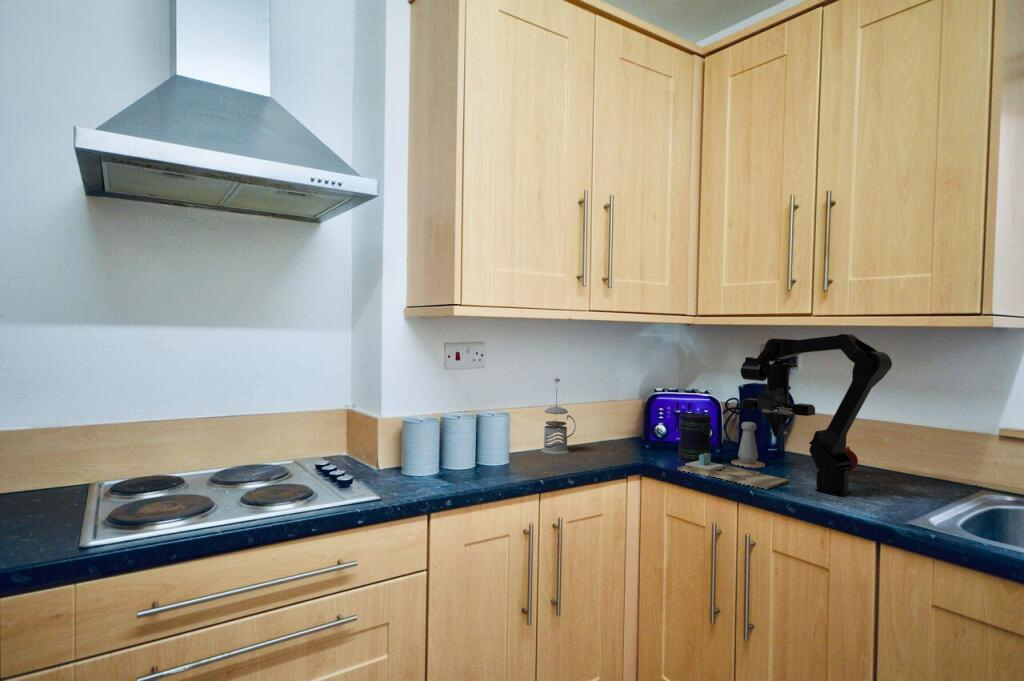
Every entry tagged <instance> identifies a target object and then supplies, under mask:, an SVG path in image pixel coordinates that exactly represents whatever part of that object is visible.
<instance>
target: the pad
mask: <svg viewBox="0 0 1024 681" xmlns="http://www.w3.org/2000/svg"><path fill="white" fill-rule="evenodd" d="M730 463H731V464H732V465H734V464H735V465H734V466H737V465H739V466H738V467H741V466H744V467H743V468H749V467H751V469H760V468H761V467H762V468H765V467H766V464H765V463H764V462H761V461H758V460H756V462H755V464H751V465H749V464H743V463H741V462H740V459H732V460H731V462H730Z"/></svg>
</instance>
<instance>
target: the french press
mask: <svg viewBox="0 0 1024 681" xmlns="http://www.w3.org/2000/svg"><path fill="white" fill-rule="evenodd" d="M553 382H556V383H558V382H561V381H560V378H559V377H556V378H554V381H553ZM555 396H556V397H555V399H556V401H555V406H550V407H547V408H546V409H545V410H544V413H546V414H552V415H565V414H567V415H566V420H568V418H570V419H571V420H572V421H573V423H574V429H573V431H572V433H570V434H568V427H567V426H566V425H567V422H566V421H558V420H548V421H545V426H544V431H543V434H544V437H543V438H544V439H543V441H544V442H543V448H541V450H540V451H541V452H542V453H545V454H551V455H563V454H564V455H565V454H569V453H570V452H571V451H570V450H569V449H568V439H569V438H570V437H572V436H573V435H574V434H575V431H576V429H577V428H576V421H575V419H574V418H573V417H572V416H571V415H568V412H569V411H568V410H567V409H566V408H563V407H562V406H558V404H557V403H558V401H557V400H558V388H556V394H555Z"/></svg>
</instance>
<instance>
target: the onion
mask: <svg viewBox="0 0 1024 681" xmlns="http://www.w3.org/2000/svg"><path fill="white" fill-rule="evenodd" d="M844 452H845V453H846V454H847V455H848V456H849V457H850V459H851V460H852V461H853V464H852V466H851V468H850V469H846V470H849V473H850V472H852V471H853V470H855V469H856V468H857V466H858V465H859V464H858V463H859V459H858V458H859V457H858V455H856V453H855V452H854V451H853V450H851V447H850V446H848V445H846V447H845V450H844Z"/></svg>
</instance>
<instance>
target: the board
mask: <svg viewBox="0 0 1024 681" xmlns="http://www.w3.org/2000/svg"><path fill="white" fill-rule="evenodd" d="M723 465H724V464H723ZM679 470H680V471H679ZM720 470H721V471H720ZM720 470H716V471H713V470H708V469H704V468H699V467H694V466H689V465H686V464H685V465H683V466H679V467H677V471H679V472H683V471H685V472H684V473H688V472H690V473H689V474H692V473H695V474H694V475H697V474H700V475H699V476H702V475H705V476H704V477H706V476H711V477H716V478H721V479H724V480H723V481H725V480H729V481H733V482H732V483H734V482H737V483H736V484H738V483H741V484H740V485H743V484H745V485H744V486H747V485H750V486H749V487H752V486H754V487H753V488H757V487H759V488H758V489H761V488H764V489H763V490H766V489H768V490H770V489H769V488H771V489H773V488H775V486H776V487H778V486H777V485H779V486H781V485H780V484H782V485H784V484H787V483H789V479H788V478H784V477H783V478H782V477H777V476H773V475H769V474H768V475H767V474H763V473H761V472H760V471H755V470H750V469H746V468H745V469H744V468H741V467H737V466H730V465H724V468H723V469H720ZM711 477H710V478H711ZM729 481H728V482H729ZM786 482H787V483H786ZM783 483H784V484H783ZM772 487H773V488H772Z"/></svg>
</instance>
